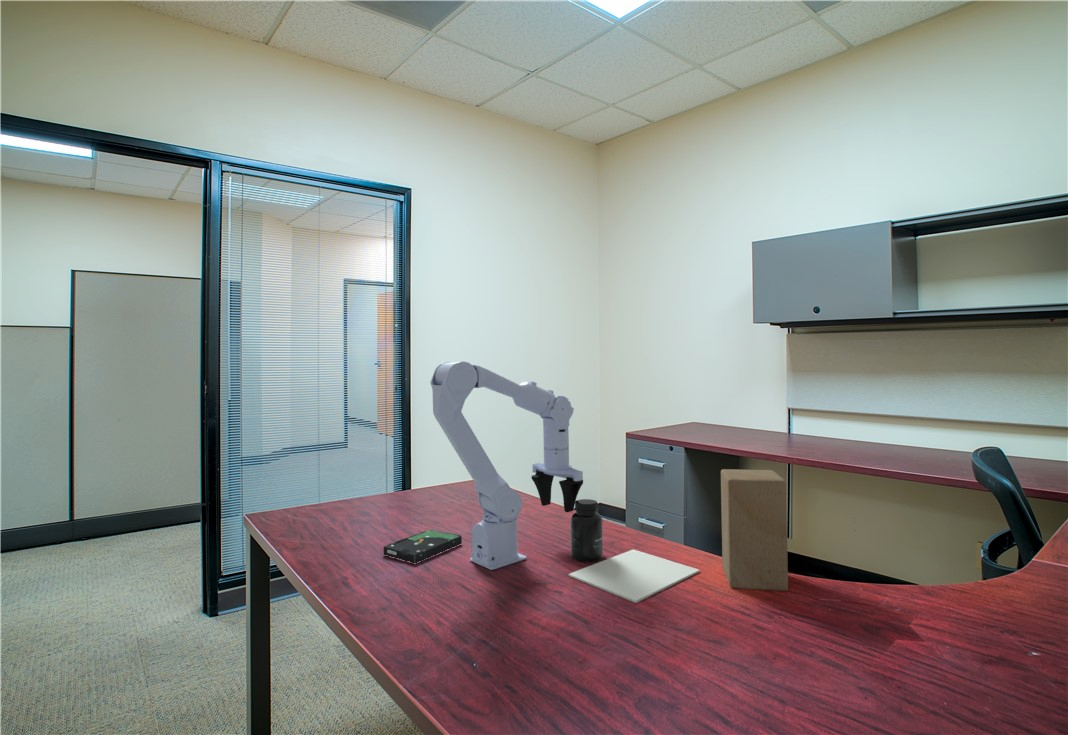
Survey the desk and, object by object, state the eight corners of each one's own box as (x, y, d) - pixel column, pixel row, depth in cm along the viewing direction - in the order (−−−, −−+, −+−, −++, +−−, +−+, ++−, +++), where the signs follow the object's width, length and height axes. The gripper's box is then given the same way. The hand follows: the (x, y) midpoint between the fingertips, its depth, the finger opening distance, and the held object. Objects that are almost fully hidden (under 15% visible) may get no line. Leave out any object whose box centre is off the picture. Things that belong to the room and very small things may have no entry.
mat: (635, 602, 94) (635, 600, 94) (568, 576, 106) (568, 573, 106) (699, 571, 107) (699, 569, 107) (633, 551, 119) (633, 549, 119)
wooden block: (788, 592, 97) (786, 480, 97) (729, 588, 99) (727, 479, 99) (775, 571, 106) (773, 469, 106) (722, 568, 108) (720, 468, 108)
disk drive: (416, 568, 114) (462, 546, 126) (415, 554, 114) (462, 534, 126) (382, 558, 120) (430, 539, 132) (382, 546, 120) (430, 527, 132)
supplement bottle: (604, 563, 113) (603, 505, 112) (571, 563, 113) (570, 506, 113) (601, 551, 119) (600, 497, 119) (570, 552, 120) (569, 497, 119)
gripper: (591, 449, 120) (593, 510, 120) (547, 443, 131) (548, 499, 131) (569, 453, 115) (570, 517, 115) (525, 446, 126) (526, 504, 126)
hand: (557, 508), depth 123 cm, fingers open, 7 cm apart
